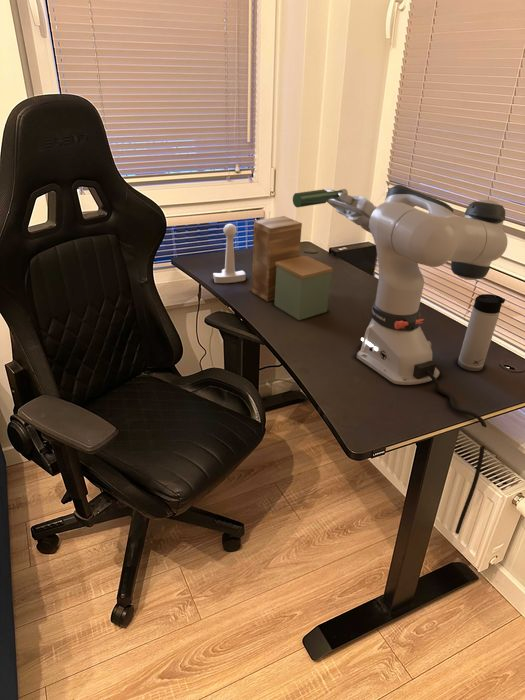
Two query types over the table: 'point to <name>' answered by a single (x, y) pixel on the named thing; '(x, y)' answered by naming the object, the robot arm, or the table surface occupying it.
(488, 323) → the travel mug
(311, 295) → the block
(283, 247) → the shelf
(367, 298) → the table surface
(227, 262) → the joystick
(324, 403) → the table surface
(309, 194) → the bottle
